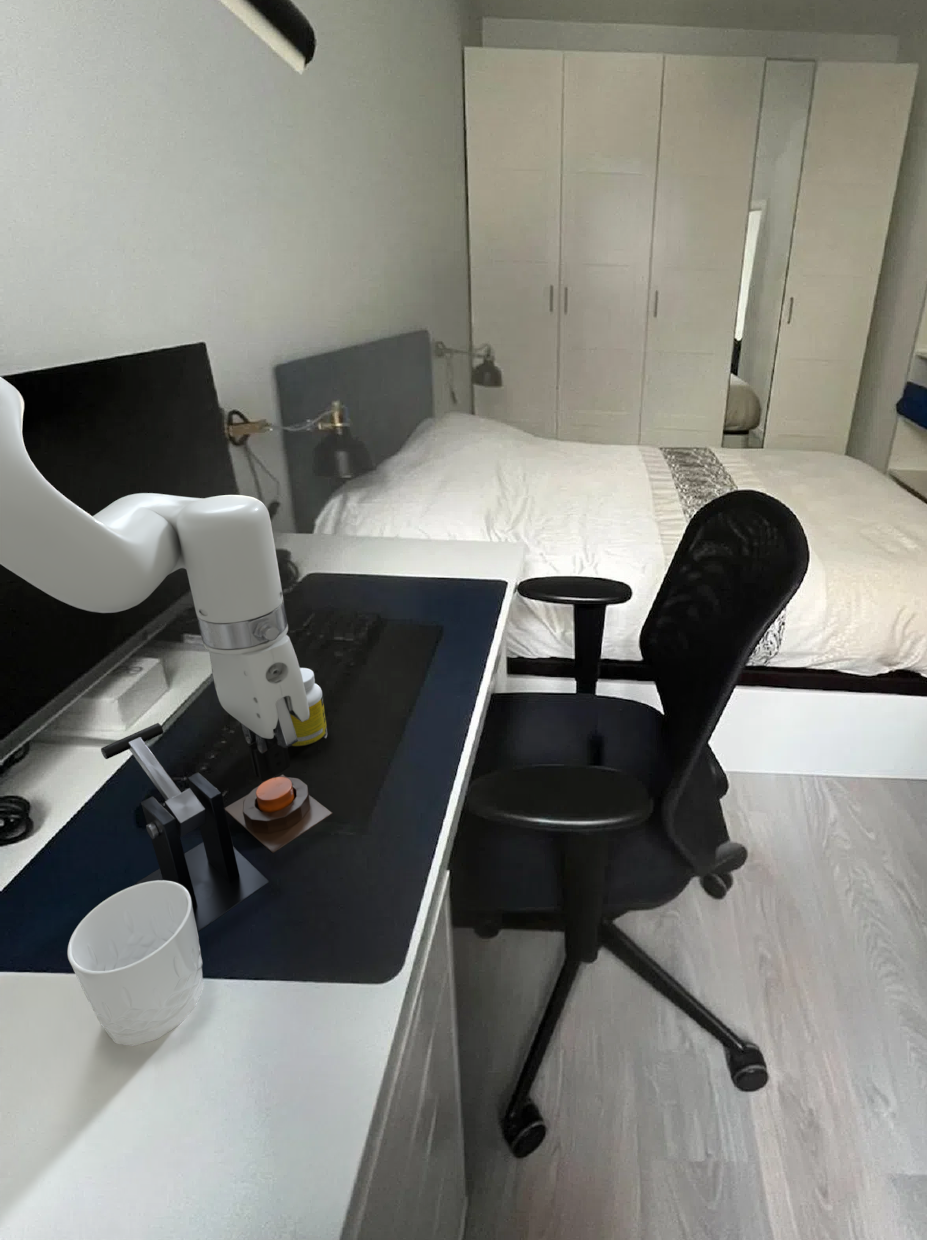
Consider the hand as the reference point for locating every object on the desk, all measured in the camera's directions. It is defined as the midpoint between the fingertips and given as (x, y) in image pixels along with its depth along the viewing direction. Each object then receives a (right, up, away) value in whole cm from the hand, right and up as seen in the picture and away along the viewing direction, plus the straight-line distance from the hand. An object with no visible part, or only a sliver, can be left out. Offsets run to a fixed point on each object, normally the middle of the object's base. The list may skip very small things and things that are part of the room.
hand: (272, 771), depth 70 cm
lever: (-7, +1, -8) cm, 11 cm away
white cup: (-1, -14, -17) cm, 22 cm away
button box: (0, -6, +2) cm, 7 cm away
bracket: (-4, -10, -6) cm, 12 cm away
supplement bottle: (-3, -1, +15) cm, 15 cm away
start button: (0, -4, +1) cm, 4 cm away
